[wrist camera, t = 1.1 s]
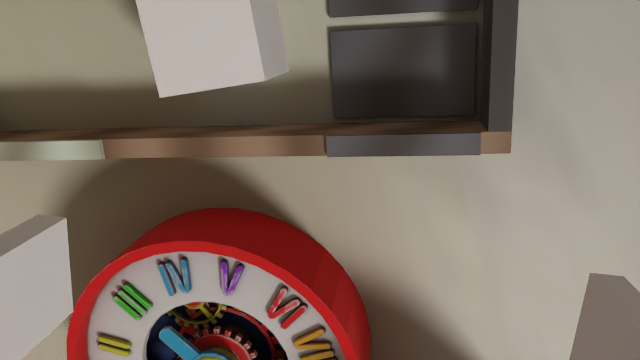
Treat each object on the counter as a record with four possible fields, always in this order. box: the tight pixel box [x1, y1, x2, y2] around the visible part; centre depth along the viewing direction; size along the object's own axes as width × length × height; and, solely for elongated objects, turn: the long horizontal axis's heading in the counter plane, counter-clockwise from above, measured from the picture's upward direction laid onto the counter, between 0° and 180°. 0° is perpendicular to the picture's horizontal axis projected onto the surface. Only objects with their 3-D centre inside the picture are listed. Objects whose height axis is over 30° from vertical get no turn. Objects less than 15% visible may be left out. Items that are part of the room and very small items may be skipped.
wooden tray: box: [0, 0, 519, 161], centre depth 30 cm, size 36×14×4 cm, turn 93°
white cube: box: [135, 0, 290, 98], centre depth 29 cm, size 6×6×6 cm
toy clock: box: [67, 208, 370, 360], centre depth 36 cm, size 20×6×20 cm
